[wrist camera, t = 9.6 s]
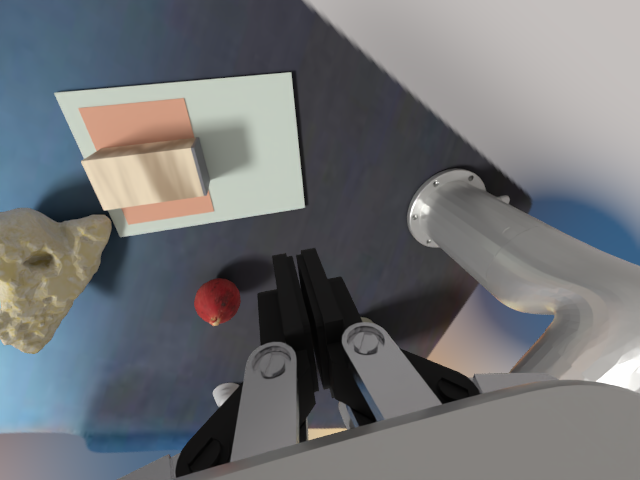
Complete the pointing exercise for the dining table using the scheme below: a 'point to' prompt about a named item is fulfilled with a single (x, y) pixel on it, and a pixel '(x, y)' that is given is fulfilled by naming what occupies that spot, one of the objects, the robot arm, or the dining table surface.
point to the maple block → (148, 173)
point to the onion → (217, 301)
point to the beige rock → (44, 272)
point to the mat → (216, 141)
